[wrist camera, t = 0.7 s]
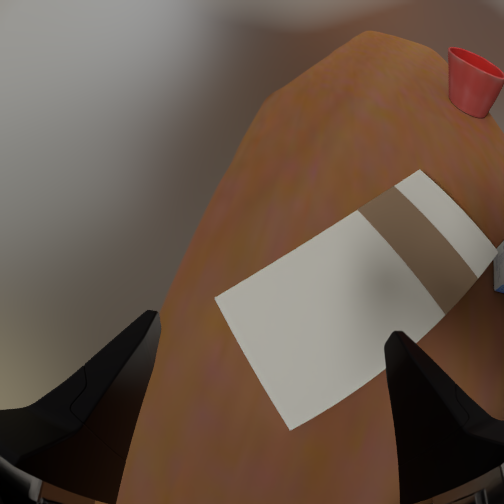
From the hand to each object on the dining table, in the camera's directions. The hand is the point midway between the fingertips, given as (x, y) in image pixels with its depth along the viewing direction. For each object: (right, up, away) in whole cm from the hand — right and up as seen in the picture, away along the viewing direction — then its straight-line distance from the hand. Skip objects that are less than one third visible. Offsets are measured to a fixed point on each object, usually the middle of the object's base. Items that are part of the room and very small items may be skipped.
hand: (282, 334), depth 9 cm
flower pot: (+36, +28, +21) cm, 51 cm away
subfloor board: (+9, 0, +12) cm, 15 cm away
